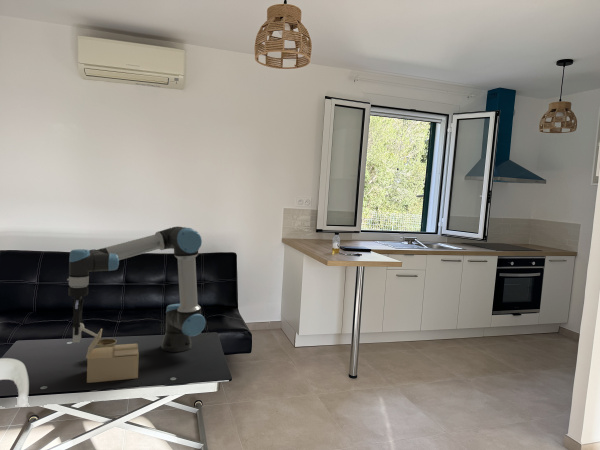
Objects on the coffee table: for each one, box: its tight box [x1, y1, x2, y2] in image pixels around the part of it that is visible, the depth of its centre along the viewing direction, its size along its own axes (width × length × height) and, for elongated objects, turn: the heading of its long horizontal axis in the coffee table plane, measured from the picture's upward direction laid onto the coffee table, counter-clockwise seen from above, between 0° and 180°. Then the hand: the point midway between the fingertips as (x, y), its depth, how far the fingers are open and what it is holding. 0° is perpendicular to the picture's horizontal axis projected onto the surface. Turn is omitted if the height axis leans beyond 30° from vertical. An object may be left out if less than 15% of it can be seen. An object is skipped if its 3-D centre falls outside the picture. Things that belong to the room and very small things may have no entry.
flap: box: [80, 322, 103, 359], centre depth 187 cm, size 10×14×11 cm
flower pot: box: [95, 338, 118, 348], centre depth 209 cm, size 9×9×9 cm
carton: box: [86, 343, 140, 384], centre depth 192 cm, size 20×14×11 cm
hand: (76, 340), depth 186 cm, fingers closed on flap, 4 cm apart
